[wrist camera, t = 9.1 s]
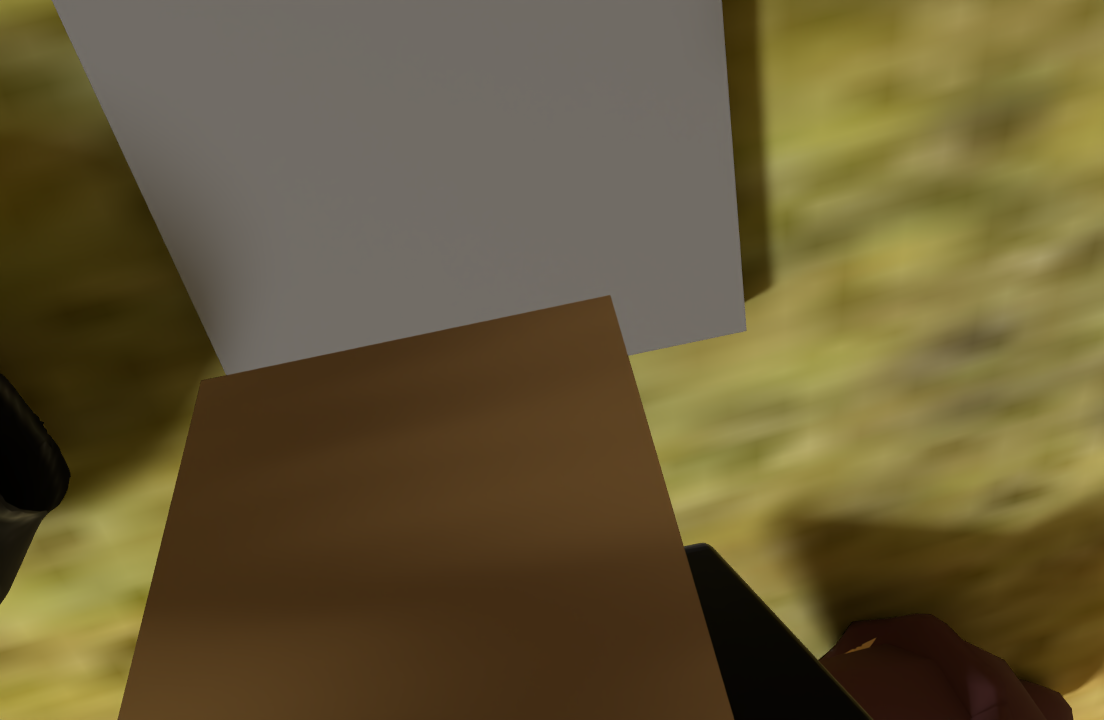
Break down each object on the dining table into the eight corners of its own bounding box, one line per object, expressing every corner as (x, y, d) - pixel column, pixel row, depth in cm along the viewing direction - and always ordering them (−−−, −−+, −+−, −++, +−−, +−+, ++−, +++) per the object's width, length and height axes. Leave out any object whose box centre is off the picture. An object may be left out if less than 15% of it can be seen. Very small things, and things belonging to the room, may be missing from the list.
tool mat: (258, 408, 22) (253, 433, 21) (28, -100, 16) (12, -87, 15) (736, 308, 21) (746, 330, 21) (691, -244, 15) (703, -236, 15)
